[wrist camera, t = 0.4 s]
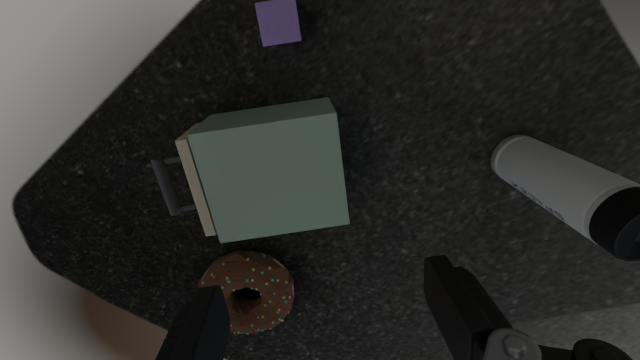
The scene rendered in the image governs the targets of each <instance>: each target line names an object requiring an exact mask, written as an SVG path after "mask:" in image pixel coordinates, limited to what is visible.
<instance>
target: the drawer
mask: <svg viewBox="0 0 640 360" xmlns="http://www.w3.org/2000/svg"><path fill="white" fill-rule="evenodd" d="M199 124H200V123H196V124H195V125H193V126H192V127H191V128H190V129H189V130H187V131H186V132H185V133H184V134H183V135H181V136H180V137H179V138H178V139H177V140H175V143H176V146H177V149H178V152H179V156H173V157H166V158H164V156H156V157H153V158H151V159H150V161H151V163H152V166H153V169H154V171H155V174H156V177H157V180H158V182H159V185H160V188H161V191H162V193H163V196H164V199H165V202H166V204H167V207H168V210H169V212H170V215H172V216H175V215H178V214H180V213H182V211H188V210H195V209H197V210H198V214H199V217H200V220H201V223H202V226H203V229H204V232H205V235H206V236H212V235H216V234H217V231H216V228H215V224H214V221H213V218H212V215H211V211H210V208H209V205H208V202H207V198H206V195H205V192H204V189H203V185H202V182H201V179H200V176H199V172H198V169H197V166H196V163H195V159H194V156H193V153H192V150H191V146H190V143H189V140H188V137H187V135H188V134H189V133H190V132H191V131H192V130H193V129H195V128H196V127H197V126H198V125H199ZM176 162H182V164H183V168H184V171H185V174H186V177H187V180H188V183H189V186H190V189H191V192H192V195H193V198H194V201H195V203H192V204H185V205H180V202H179V199H178V196H177V193H176V190H175V187H174V184H173V182H172V179H171V176H170V173H169V170H168V167H167V164H169V163H176Z"/></svg>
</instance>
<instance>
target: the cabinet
mask: <svg viewBox="0 0 640 360" xmlns="http://www.w3.org/2000/svg"><path fill="white" fill-rule="evenodd" d="M187 137H188V140H189V143H190V146H191V150H192V153H193V156H194V159H195V163H196V166H197V169H198V172H199V176H200V179H201V182H202V185H203V189H204V192H205V195H206V198H207V202H208V205H209V208H210V211H211V215H212V218H213V221H214V224H215V228H216V231H217V234H218V237H219V240H220V243H225V242H232V241H239V240H245V239H252V238H259V237H266V236H272V235H279V234H286V233H292V232H299V231H306V230H312V229H319V228H326V227H332V226H339V225H346V224H350V223H349V215H348V206H347V198H346V189H345V181H344V172H343V164H342V155H341V147H340V138H339V130H338V121H337V113H336V111H335V109H334V107H333V105H332V103H331V101H330V99H329V97H326V98H319V99H313V100H306V101H299V102H293V103H286V104H279V105H273V106H266V107H259V108H253V109H246V110H239V111H233V112H226V113H219V114H213V115H210V116H208V117H207V118H206V119H205V120H204V121H203V122H201V123H200V124H199V125H198V126H197V127H196V128H195V129H193V130H192V131H191V132H190V133H189V134H188V135H187Z"/></svg>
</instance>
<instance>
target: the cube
mask: <svg viewBox="0 0 640 360" xmlns="http://www.w3.org/2000/svg"><path fill="white" fill-rule="evenodd" d="M255 8H256V13H257V18H258V23H259V29H260V34H261V39H262V44H263V47H264V46H270V45H277V44H284V43H290V42H297V41H301V34H300V27H299V20H298V14H297V7H296V0H271V1H264V2H257V3H255Z"/></svg>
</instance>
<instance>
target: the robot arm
mask: <svg viewBox="0 0 640 360" xmlns="http://www.w3.org/2000/svg"><path fill="white" fill-rule="evenodd" d="M424 293H425V298H426V301H427V304H428V306H429V308H430V310H431V312H432V314H433V317H434V319H435V321H436V323H437V325H438V327H439V329H440V331H441V333H442V335H443V337H444V339H445V341H446V343H447V346H448V348H449V350H450V352H451V354H452V356H453V358H454V360H632V359H631V358H630V357H629V356H628V355H627V354H626V353H625V352H623V351H622V350H620V349H619V348H617V347H615V346H614V345H612V344H609V343H607V342H604V341H601V340H597V339H582V340H579V341H577V342H576V343H575V344H574V347H573V350H566V349H559V348H552V347H546V346H542V345H538V344H537V343H536V342H535V340H534V339H532V338H531V337H530V336H528V335H527V334H525V333H523V332H521V331H519V330H516V329H514V328H513V327H512V326H511V325H510V323H509V322H508V321H507V319H506V318H505V316H504V315H503V314H502V312H501V311H500V310H499V308H498V307H497V306H496V304H495V303H494V302H493V300H492V299H491V297H490V296H488V294H487V292H486V291H485V289H484V288H483V287H482V286H481V284H480V283H479V281H478V280H477V279H476V277H475V276H474V275H473V274H472V273H470V272H469V271H468V270H466V269H465V268H463V267H462V266H461V267H453V265H452V264H451V262H450V261H449V259H448V258H447V256H445V255H441V256H433V257H426V258H425V260H424ZM229 332H230V314H229V311H228V307H227V304H226V301H225V297H224V294H223V291H222V288H221V286H220V285H213V286H205V287H200V288H199V289H198V290H197V293H196V295H195V298H194V300H193V302H189V303H185V305H184V306H183V307H182V308H181V309H180V310H179V311H178V312H177V313H176V315H175V317H174V319H173V322H172V324H171V328H169V331H168V333H167V335H166V339H165V340H164V342H163V344H162V346H161V348H160V351H159V353H158V355H157V358H156V360H223V358H224V354H225V349H226V345H227V341H228V337H229Z"/></svg>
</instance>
